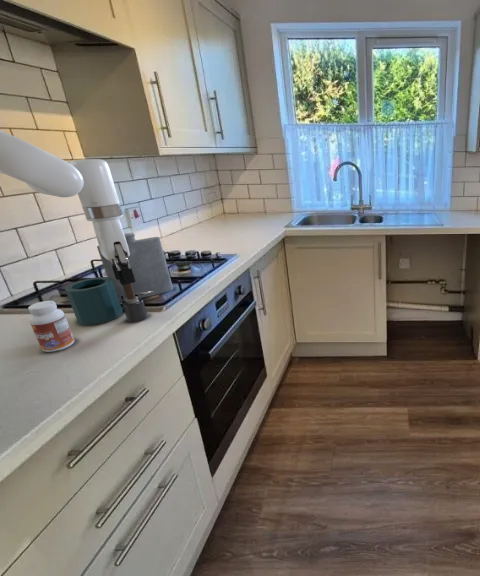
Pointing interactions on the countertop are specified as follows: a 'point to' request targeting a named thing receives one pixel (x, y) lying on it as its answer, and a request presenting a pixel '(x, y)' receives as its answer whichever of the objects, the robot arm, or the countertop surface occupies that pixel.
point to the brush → (133, 305)
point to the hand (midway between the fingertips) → (125, 280)
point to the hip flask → (143, 267)
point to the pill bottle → (50, 326)
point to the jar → (94, 300)
